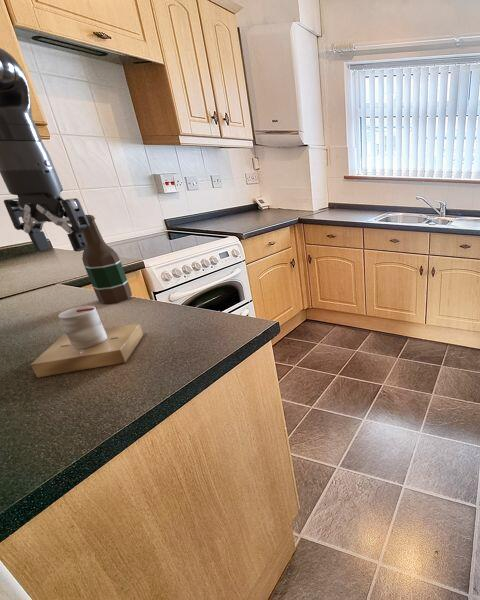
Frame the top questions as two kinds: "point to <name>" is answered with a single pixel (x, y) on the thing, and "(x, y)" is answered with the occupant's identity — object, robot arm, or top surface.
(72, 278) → the top surface
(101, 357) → the wooden board
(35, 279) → the top surface
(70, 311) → the white short cylinder
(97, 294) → the beer bottle
